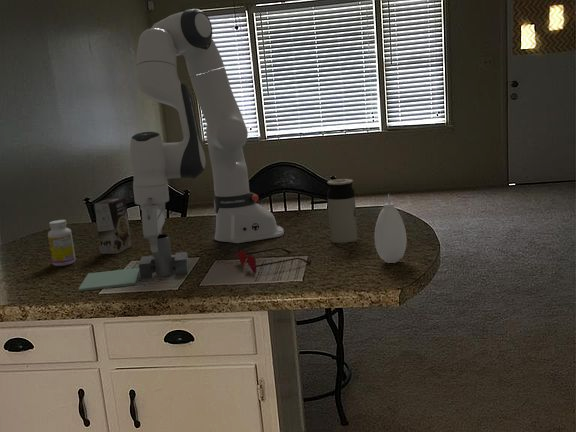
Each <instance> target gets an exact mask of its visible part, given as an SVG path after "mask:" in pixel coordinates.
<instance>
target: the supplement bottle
mask: <svg viewBox="0 0 576 432" xmlns="http://www.w3.org/2000/svg"><path fill="white" fill-rule="evenodd" d="M48 224H49V228H50V231H48V233H47V238H48V246H49V250H50V252H49V253H50V259H51V262H52V265H53V266H55V267H63V266H68V265H72V264H74V263H75V262H76V260H77V259H76V252H75V247H74V240H73V234H72V230H71V228H69V227H67V220H66V219H58V220H53V221H50V222H49V223H48Z"/></svg>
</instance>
